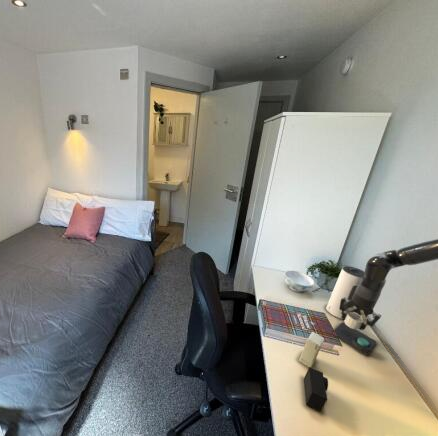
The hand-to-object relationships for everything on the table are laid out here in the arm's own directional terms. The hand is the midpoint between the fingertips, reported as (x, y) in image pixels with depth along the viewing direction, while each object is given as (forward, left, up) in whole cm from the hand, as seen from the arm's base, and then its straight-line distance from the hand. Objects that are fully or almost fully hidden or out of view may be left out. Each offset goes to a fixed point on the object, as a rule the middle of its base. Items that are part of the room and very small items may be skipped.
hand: (352, 323), depth 106 cm
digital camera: (-5, +45, -6) cm, 46 cm away
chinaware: (+30, -14, -6) cm, 34 cm away
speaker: (+8, -13, -6) cm, 17 cm away
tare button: (-6, +4, -4) cm, 8 cm away
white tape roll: (0, 0, -1) cm, 1 cm away
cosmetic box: (+3, +32, -6) cm, 33 cm away
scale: (-3, +1, -6) cm, 7 cm away
